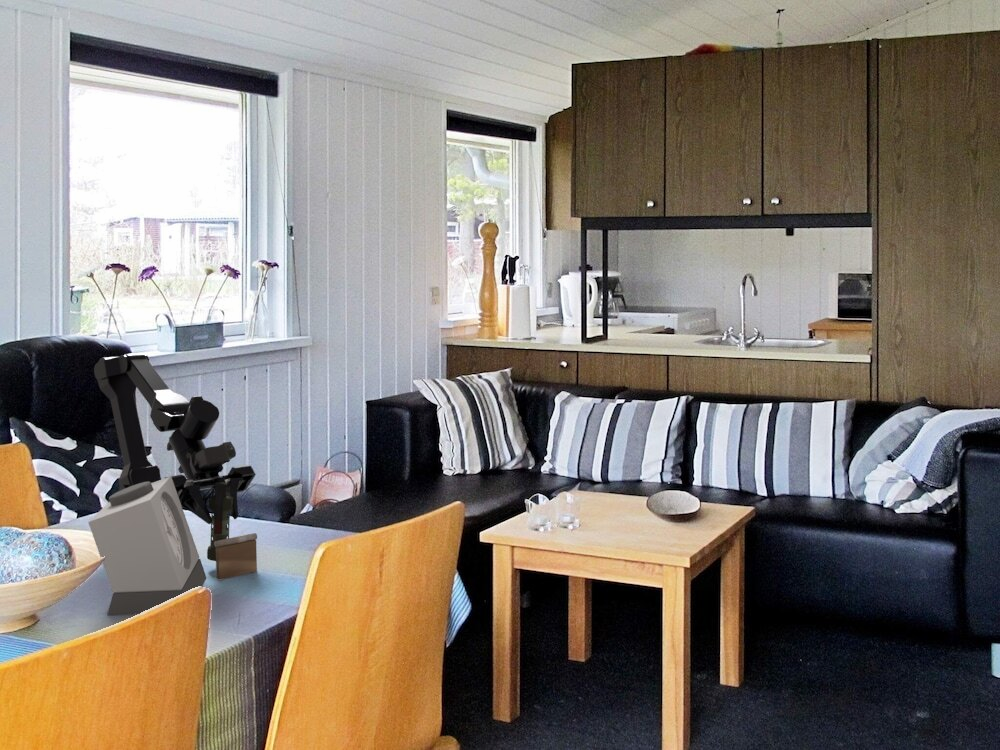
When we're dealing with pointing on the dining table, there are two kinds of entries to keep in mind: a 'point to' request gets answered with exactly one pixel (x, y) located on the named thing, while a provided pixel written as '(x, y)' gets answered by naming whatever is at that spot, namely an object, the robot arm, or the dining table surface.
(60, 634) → the dining table surface
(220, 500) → the grenade
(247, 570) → the wooden panel
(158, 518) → the alarm clock
